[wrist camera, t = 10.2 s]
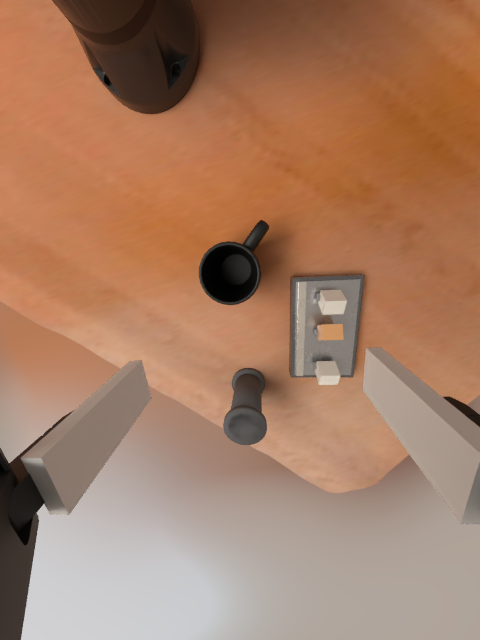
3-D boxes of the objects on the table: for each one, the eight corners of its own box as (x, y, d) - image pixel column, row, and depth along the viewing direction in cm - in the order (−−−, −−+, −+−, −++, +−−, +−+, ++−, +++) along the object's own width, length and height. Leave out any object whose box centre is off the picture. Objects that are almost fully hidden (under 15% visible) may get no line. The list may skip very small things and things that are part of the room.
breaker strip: (290, 276, 37) (293, 278, 35) (358, 273, 36) (366, 275, 34) (289, 371, 43) (291, 379, 40) (348, 370, 42) (354, 378, 39)
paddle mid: (314, 326, 37) (320, 324, 33) (336, 325, 37) (344, 323, 33) (315, 340, 37) (320, 340, 33) (337, 340, 36) (345, 339, 33)
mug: (284, 246, 36) (293, 243, 27) (240, 302, 39) (235, 317, 30) (245, 213, 35) (241, 199, 26) (203, 274, 39) (186, 280, 29)
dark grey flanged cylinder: (231, 368, 43) (221, 409, 32) (264, 368, 43) (266, 409, 31) (233, 396, 45) (224, 444, 34) (264, 396, 45) (267, 445, 33)
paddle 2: (314, 358, 38) (318, 375, 35) (335, 358, 37) (342, 375, 35) (312, 367, 39) (316, 384, 36) (333, 367, 39) (339, 384, 36)
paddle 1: (317, 288, 34) (323, 301, 32) (341, 287, 34) (349, 300, 31) (315, 301, 36) (320, 314, 33) (338, 300, 36) (345, 314, 33)
